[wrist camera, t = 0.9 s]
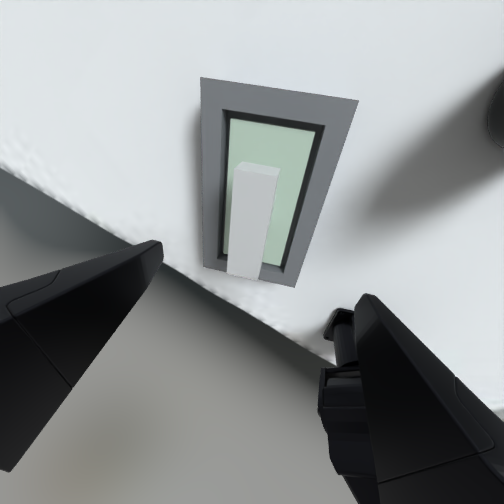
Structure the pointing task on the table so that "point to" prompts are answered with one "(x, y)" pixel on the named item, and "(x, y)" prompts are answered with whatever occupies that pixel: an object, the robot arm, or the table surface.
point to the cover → (262, 192)
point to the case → (316, 173)
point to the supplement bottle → (497, 117)
